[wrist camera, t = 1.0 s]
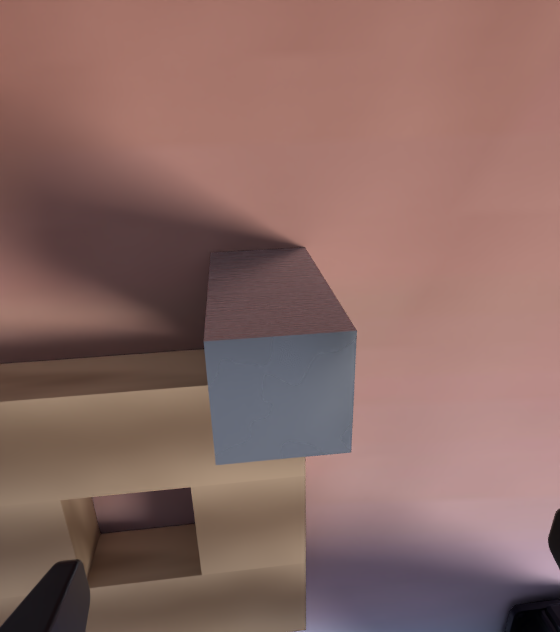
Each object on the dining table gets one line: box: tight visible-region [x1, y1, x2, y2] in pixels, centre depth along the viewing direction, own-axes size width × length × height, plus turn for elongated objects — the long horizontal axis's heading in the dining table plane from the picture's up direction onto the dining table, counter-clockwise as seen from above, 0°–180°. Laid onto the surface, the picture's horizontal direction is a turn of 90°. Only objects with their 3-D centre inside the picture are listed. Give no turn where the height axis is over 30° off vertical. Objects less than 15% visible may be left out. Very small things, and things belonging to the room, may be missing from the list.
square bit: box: [204, 248, 357, 465], centre depth 16 cm, size 4×4×8 cm
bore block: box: [0, 349, 306, 632], centre depth 21 cm, size 15×15×3 cm
